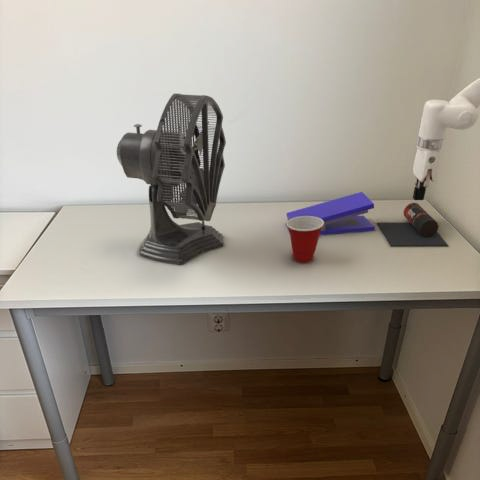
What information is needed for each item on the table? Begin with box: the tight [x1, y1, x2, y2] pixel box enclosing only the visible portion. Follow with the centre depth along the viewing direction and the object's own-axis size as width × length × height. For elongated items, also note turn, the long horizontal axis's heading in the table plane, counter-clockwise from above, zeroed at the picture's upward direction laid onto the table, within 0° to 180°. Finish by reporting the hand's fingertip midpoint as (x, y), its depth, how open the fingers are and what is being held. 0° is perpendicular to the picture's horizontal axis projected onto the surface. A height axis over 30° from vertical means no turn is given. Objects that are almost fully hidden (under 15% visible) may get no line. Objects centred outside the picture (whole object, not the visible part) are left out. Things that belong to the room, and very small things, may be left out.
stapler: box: [286, 191, 376, 236], centre depth 171 cm, size 12×28×10 cm, turn 101°
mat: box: [376, 221, 449, 248], centre depth 169 cm, size 18×18×1 cm
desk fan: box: [116, 93, 227, 266], centre depth 145 cm, size 34×33×45 cm
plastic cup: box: [286, 216, 324, 264], centre depth 151 cm, size 11×11×12 cm
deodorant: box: [403, 202, 440, 237], centre depth 171 cm, size 6×6×15 cm
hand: (418, 199), depth 171 cm, fingers closed
